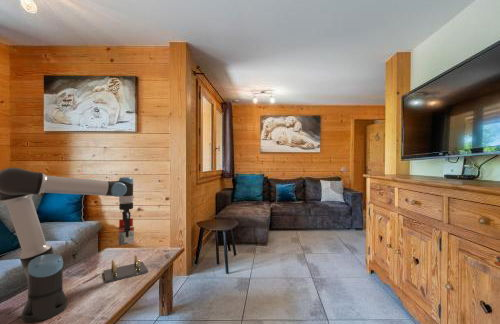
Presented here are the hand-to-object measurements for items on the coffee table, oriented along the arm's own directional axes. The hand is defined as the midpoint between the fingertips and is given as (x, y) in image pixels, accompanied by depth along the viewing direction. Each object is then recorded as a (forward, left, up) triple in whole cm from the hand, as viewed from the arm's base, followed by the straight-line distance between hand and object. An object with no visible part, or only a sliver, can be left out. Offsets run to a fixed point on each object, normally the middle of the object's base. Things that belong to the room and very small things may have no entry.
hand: (126, 241), depth 143 cm
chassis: (0, 0, -19) cm, 19 cm away
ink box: (0, 0, -2) cm, 2 cm away
